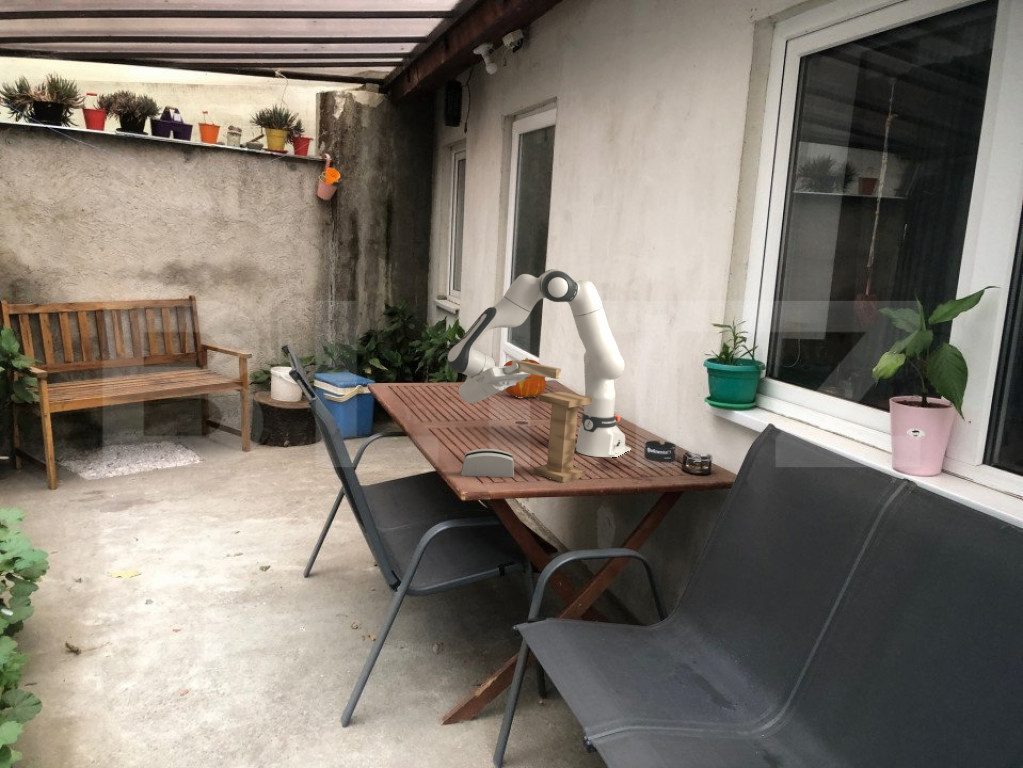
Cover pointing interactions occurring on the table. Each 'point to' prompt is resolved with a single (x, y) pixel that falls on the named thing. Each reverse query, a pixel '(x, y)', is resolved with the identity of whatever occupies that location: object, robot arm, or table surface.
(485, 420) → the table surface
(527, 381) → the pumpkin
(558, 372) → the batten
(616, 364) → the robot arm
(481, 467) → the grey arched block
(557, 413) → the stand
